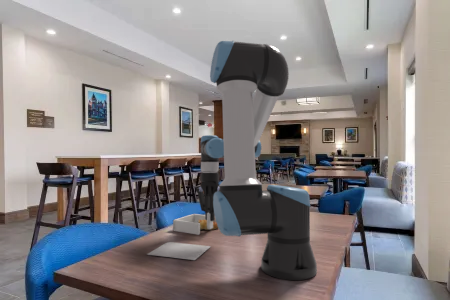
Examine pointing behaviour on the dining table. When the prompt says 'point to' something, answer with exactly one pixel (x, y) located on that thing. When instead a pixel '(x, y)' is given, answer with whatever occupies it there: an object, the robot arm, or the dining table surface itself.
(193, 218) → the box
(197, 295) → the dining table surface
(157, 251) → the paper stack
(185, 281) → the dining table surface
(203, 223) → the pastry
